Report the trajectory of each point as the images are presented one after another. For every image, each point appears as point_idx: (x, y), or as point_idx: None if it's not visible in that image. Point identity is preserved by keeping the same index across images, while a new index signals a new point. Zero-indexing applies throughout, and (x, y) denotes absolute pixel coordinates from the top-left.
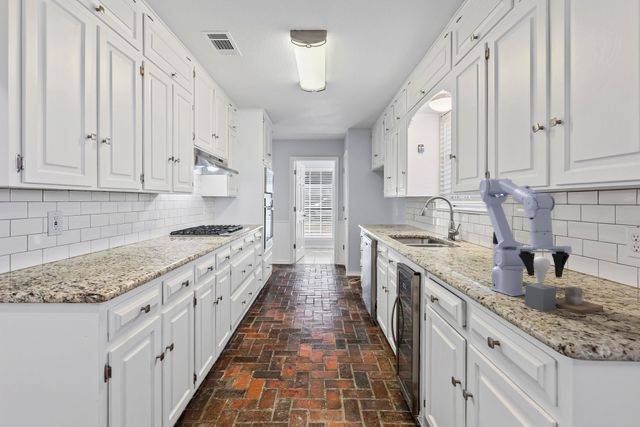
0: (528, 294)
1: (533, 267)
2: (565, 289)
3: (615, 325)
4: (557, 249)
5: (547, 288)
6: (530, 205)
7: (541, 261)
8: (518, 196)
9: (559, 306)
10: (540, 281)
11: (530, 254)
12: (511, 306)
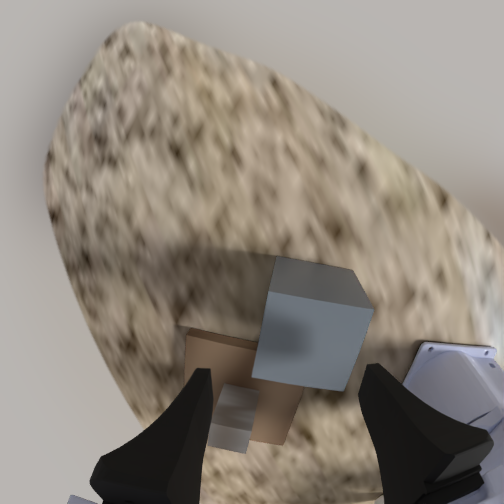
0: (347, 287)
1: (372, 435)
2: (252, 424)
3: (104, 300)
4: None
5: (266, 328)
6: None
7: None
8: None
9: (257, 346)
10: (383, 499)
11: (408, 498)
12: (380, 208)
